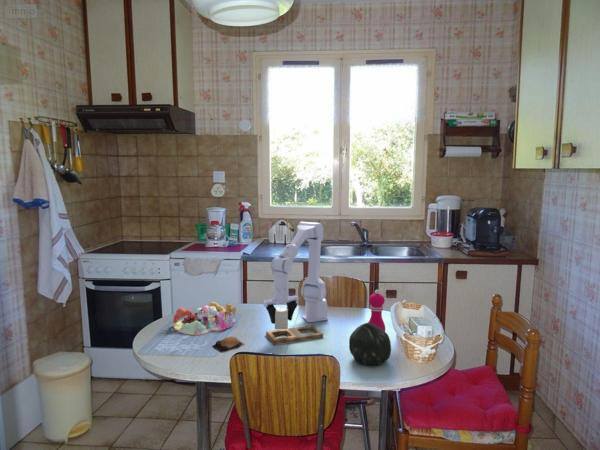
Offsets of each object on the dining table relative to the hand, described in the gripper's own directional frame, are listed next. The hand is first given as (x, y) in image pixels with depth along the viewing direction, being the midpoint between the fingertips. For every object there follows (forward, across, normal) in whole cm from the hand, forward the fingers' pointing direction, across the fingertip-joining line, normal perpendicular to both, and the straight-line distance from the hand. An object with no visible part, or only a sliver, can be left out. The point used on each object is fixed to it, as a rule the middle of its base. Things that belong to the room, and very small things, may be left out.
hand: (281, 321), depth 170 cm
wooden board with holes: (+7, -6, +1) cm, 9 cm away
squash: (+7, -18, +33) cm, 38 cm away
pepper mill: (+7, -32, +19) cm, 38 cm away
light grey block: (+2, 0, 0) cm, 2 cm away
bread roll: (+8, +21, -4) cm, 22 cm away
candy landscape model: (+8, +22, -29) cm, 37 cm away
